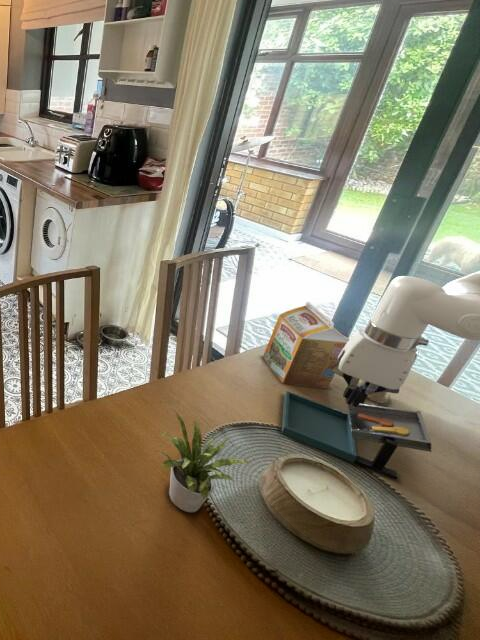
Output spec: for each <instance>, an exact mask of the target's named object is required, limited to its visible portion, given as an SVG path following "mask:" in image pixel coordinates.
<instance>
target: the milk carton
mask: <svg viewBox="0 0 480 640" xmlns="http://www.w3.org/2000/svg"><path fill="white" fill-rule="evenodd" d="M334 326H335V323H334V321H332V320H331V319H330V318H329V317H327V315H325V314H324V313H323V312H322V311H321V310H319V309H318V308H317V307H316V306H315V305H314V304H312V303H311V302H310V301H306V303H305V305H303V306H299V307H296V308H295V307H294V308H292V309H289V310H286V311H284V312H283V313H281V314H279V315H278V318H277V320H276V323H275V325H274V327H273V330H272V333H271V335H270V338H269V340H268V343H267V345H266V347H265V350H264V353H263V356H262V358H263V360H264V361H265V363H267V365H268V366H269V367H270V369H271V370H272V371H273V372H274V374H275V375H276V376H277V378H278V379H279V380H280V381H281V383H282V384H288V385H296V386H305V387H315V388H324V389H328V388H329V386H330V385H331V383H332V381H333V379H334V378H335V375H336V373H334V372H333V371H332V367H333V366H334V365H335V364H336V363H337V362H338V361H337V359H338V356H339V354H340V353H341V351H342V349H343V348H344V347H345V345H346V344H347V342H348V341H349V339H348V338H347V337H346V336H345V335H344V334H342V333H341V332H340V331H339V330H338V329H336V328H335V327H334Z"/></svg>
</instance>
